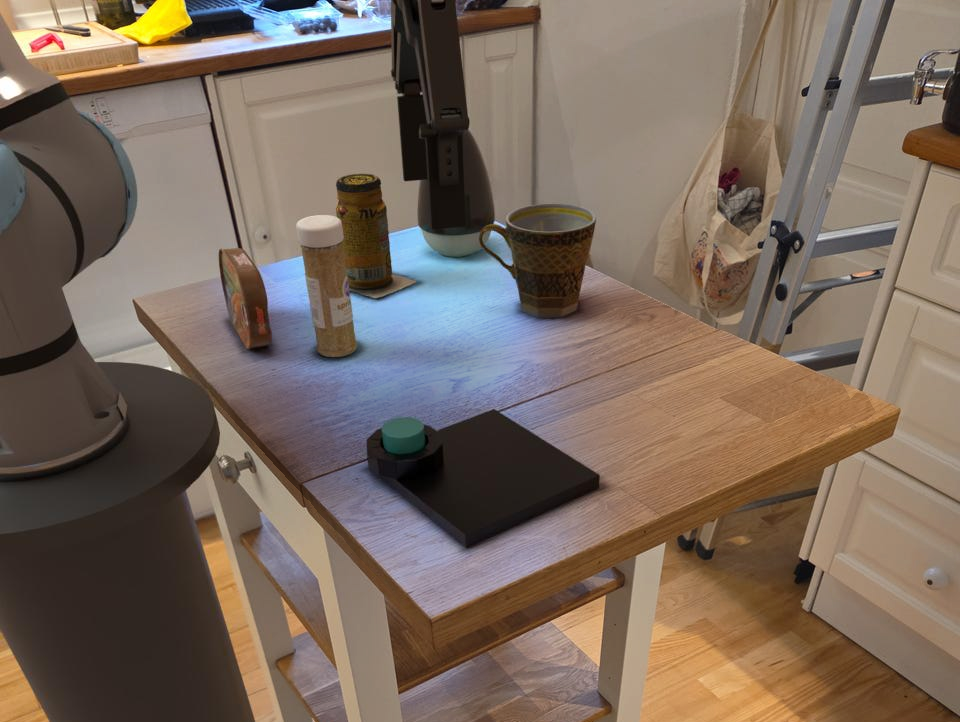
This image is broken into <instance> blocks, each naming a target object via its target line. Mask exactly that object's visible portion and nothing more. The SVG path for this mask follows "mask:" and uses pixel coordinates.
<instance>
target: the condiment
mask: <svg viewBox="0 0 960 722" xmlns="http://www.w3.org/2000/svg"><path fill="white" fill-rule="evenodd" d="M381 185H382V180H381V179H380V178H379V177H378V176H377V175H375V174H371V173H351V174H346V175H342V176H341V177H339V178H338V179H337V180H336V183H335V187H336V198H337V200H338V202H337V203H336V207H335V214H336V217H337V218H339V219H340V220H341V223H342V229H343V236H344V238H343V240H342V241H343V250H344V259H345V265H346V273H347V277H348V283H349V290H350V292H352V293H353V292H354V293H357V294H360V295H362V296H367V297H370V298H373V299H377V298H382V297H384V296H387V295H389V294H392V293H395V292H397V291H401V290H402V289H404V288H406V287H410V286H411V285H413V284H416V283H418V281H417V280H414V279H411V278H408V277H406V276H405V277H404V276H401V275H398V274H393V267H392V266H393V265H392V256H391V245H390V244H391V243H390V232H389V221H388V211H387V204H386V202H385V201H384V199H383V192H382V191H383V190H382V186H381Z"/></svg>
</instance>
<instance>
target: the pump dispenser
mask: <svg viewBox="0 0 960 722" xmlns="http://www.w3.org/2000/svg"><path fill="white" fill-rule="evenodd" d="M463 165H464V195H465V224H466V226H463V227H453V228H444V229H434V230H432V228H431V227H430V211H429V194H428V179H427V180H419V184H418V194H417V210H416V211H417V214H416V215H417V225H418V227H419V228H420V231H421V234H422V236H423V238H424V241H425V243H426V244H427V245H428V246H429V247H430V249H432V250H433V251H434V252H436V253H437V254H439V255H442V256H444V257H452V258H461V257H467V256H470V255H473V254H475V253H477V252H479V251H481V249H483V248H482V247H481V245H480V243H479V235H480V232H481V230H482V229H483V228H484V227H485V226H487V225H490V224H495V222H496V214H495V213H496V212H495V204H494V197H493V196H494V195H493V190H492V185H491V180H490V177H489V172H488V169H487V165H486V163H485V159H484V157H483V153H482V151H481V149H480V147H479V144H478V142H477V140H476V138H475V136H474V135H473V133H472V132H471V130H470V129H469V128H468V131H463ZM491 233H492V231H487V232H485V233H484V234H483V237H482V241H483V244H484V245H485V246H486V244H487V242H488V241H489V238H490V236H491Z"/></svg>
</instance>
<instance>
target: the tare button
mask: <svg viewBox="0 0 960 722" xmlns="http://www.w3.org/2000/svg"><path fill="white" fill-rule="evenodd" d="M424 425H425V424H424V422H422V420H420V419H419V418H415V417H412V416H400V417H394V418H391V419H389V420H387V421H385V422H384V423H383V425H382V427H381V428H382V436H383V444H384V448H385V450H386V451H387V452H391V453H396V454H409V453H414V452H416V451H419V450H421V449H423V448H424V446H425V433H424Z"/></svg>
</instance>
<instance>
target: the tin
mask: <svg viewBox="0 0 960 722" xmlns="http://www.w3.org/2000/svg"><path fill="white" fill-rule="evenodd" d="M218 267H219V273H220V274H219V276H220V280H221V286H222V292H223V297H224V300H225V306H226V309H227V313H228V316H229V319H230V322H231V324H232V326H233V328H234V329H235V331H236V333H237V335H238V336H239V338H240V340H241V342H242V343H243V345H244V347H245V348H246V349H247V350H250V349H254V348H261V347H267V346H269V345H271V343H272V341H273V339H272V338H273V332H272V329H271V325H270V316H269V302H268V295H267V290H266V286H265V283H264V279H263V277H262V274H261V272H260V270H259V269H258V267H257V265H256V264H255V263H254V261H253V260H252V258H251V256H249V254H248V253H247V251H246V250H245V249H244V248H240V247H233V248H219V250H218Z"/></svg>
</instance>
